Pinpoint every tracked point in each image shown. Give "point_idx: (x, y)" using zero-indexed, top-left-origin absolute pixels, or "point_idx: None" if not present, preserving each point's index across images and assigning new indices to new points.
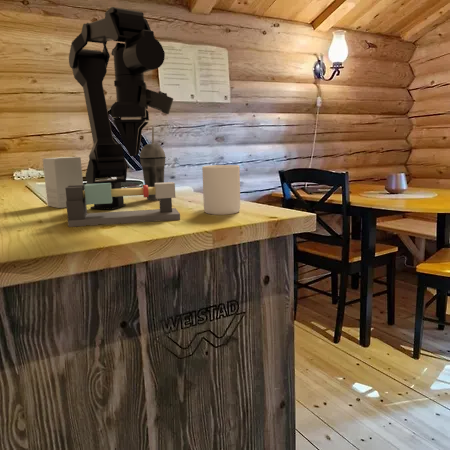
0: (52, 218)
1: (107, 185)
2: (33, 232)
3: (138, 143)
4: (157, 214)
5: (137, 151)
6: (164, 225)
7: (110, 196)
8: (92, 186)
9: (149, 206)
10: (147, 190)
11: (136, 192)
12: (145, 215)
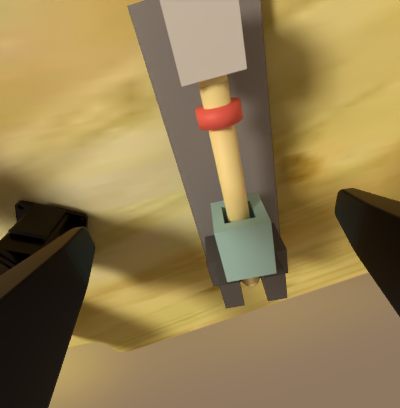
0: (185, 283)
1: (271, 227)
2: (305, 267)
3: (48, 272)
4: (250, 58)
5: (81, 239)
6: (331, 19)
7: (262, 203)
8: (273, 257)
9: (4, 134)
10: (240, 103)
11: (237, 141)
12: (258, 95)
